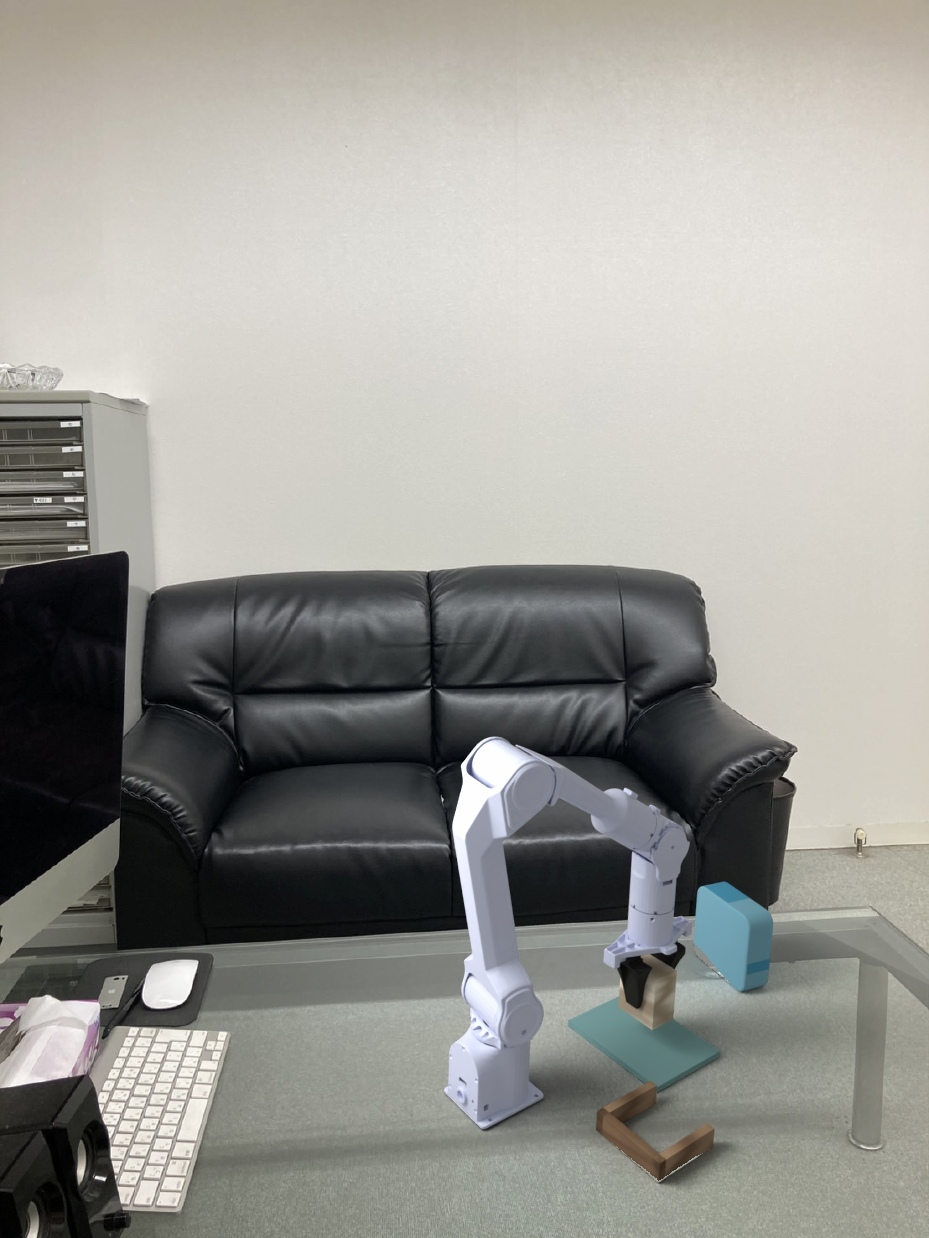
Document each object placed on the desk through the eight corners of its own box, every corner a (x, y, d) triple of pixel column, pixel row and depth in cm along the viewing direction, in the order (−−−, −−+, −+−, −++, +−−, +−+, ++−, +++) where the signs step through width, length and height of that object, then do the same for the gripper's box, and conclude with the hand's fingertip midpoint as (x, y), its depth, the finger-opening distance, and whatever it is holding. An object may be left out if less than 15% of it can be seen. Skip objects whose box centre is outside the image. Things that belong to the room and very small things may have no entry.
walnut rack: (658, 1183, 101) (659, 1163, 100) (595, 1129, 109) (596, 1110, 108) (712, 1147, 106) (714, 1128, 106) (649, 1098, 114) (650, 1080, 113)
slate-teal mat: (656, 1092, 115) (657, 1087, 115) (567, 1025, 127) (568, 1020, 127) (720, 1056, 122) (720, 1050, 122) (630, 995, 134) (630, 990, 134)
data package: (767, 989, 137) (775, 914, 134) (743, 996, 135) (750, 920, 133) (715, 948, 148) (721, 877, 145) (691, 953, 146) (697, 882, 143)
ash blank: (652, 1030, 120) (655, 980, 119) (618, 1006, 125) (621, 959, 123) (673, 1019, 122) (676, 970, 121) (639, 996, 127) (642, 949, 126)
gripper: (635, 934, 113) (628, 1034, 116) (713, 900, 122) (705, 994, 124) (594, 909, 119) (589, 1005, 122) (671, 879, 127) (665, 969, 130)
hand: (645, 998), depth 123 cm, fingers closed on ash blank, 4 cm apart
